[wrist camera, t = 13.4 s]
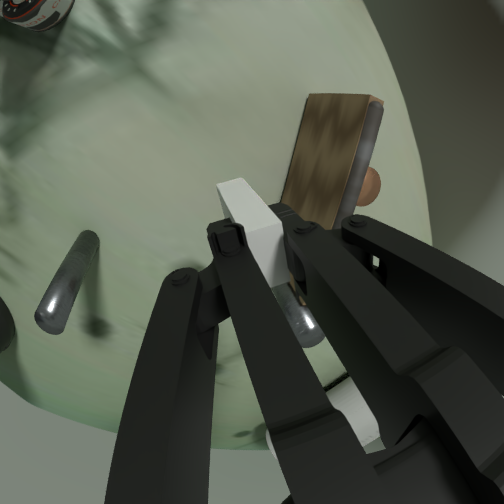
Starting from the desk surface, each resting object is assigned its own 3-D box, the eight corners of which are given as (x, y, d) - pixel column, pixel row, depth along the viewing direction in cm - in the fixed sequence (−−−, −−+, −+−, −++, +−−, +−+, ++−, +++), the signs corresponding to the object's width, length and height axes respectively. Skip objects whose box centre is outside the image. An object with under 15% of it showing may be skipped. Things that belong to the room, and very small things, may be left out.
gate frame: (299, 270, 41) (347, 344, 28) (78, 250, 32) (38, 331, 19) (337, 152, 33) (419, 189, 21) (85, 109, 24) (15, 120, 11)
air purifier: (450, 396, 54) (328, 474, 60) (419, 355, 68) (310, 430, 74) (446, 368, 40) (276, 474, 46) (401, 314, 54) (258, 414, 60)
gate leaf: (279, 248, 38) (319, 310, 27) (268, 246, 37) (305, 310, 27) (320, 97, 29) (390, 102, 18) (309, 93, 29) (376, 95, 18)
